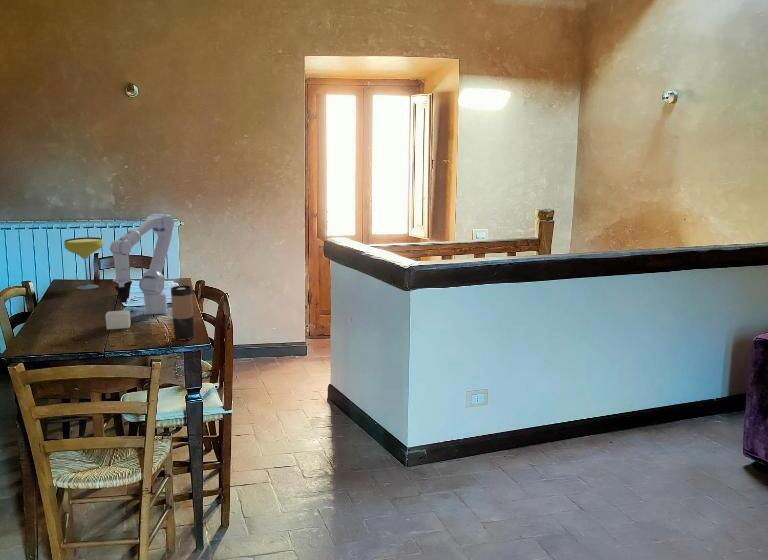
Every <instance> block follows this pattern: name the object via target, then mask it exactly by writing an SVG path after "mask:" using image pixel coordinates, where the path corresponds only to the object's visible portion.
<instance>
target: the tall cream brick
mask: <svg viewBox="0 0 768 560" xmlns="http://www.w3.org/2000/svg"><path fill="white" fill-rule="evenodd" d="M105 322H106V323H105V326H106V330H117V329H130V326H131V324H132V323H131V311H130V310H129V309H127V310H113V311H112V310H111V311H107V312H106V314H105Z"/></svg>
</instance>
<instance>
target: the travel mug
mask: <svg viewBox="0 0 768 560" xmlns="http://www.w3.org/2000/svg"><path fill="white" fill-rule="evenodd" d="M192 293H193V292H192V286H190V285H177V286H176V285H175V286H172V287H171V288H170V297H171V299H170V300H171V311H172V312H171V313H172V314H171V315H172V325H173V334H174V339H175V338H176V339H187V338H191V337H193V336H194V337H195V333H194V332H195V330H194V329H195V328H194V325H195V324H194V309H193V296H192V295H193V294H192ZM176 339H175V340H176Z"/></svg>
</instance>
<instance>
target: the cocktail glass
mask: <svg viewBox="0 0 768 560" xmlns="http://www.w3.org/2000/svg"><path fill="white" fill-rule="evenodd" d="M63 246H64V249H66V250H67V252H70V253H73V254H75V255H77V256H79V257H80V258H82V259H83V260H84V268H85V269H84V270H85V284H83V285H80V286H79V285H78V286H77V287H76V290H80V291H81V290H82V291H85V290H86V291H87V290H95V289H98V288H99V287H100V285H97V284H90V282H89V277H88V270H87V259H88V258H89V257H90V255H92V254H93V253H96V252H97V251H99V250H100V249H101V248H102V246H103V238H102V237H97V236H96V237H91V236H90V237H87V236H86V237H76V238H69V239H65V240H64V241H63Z"/></svg>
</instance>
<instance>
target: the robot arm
mask: <svg viewBox="0 0 768 560" xmlns="http://www.w3.org/2000/svg"><path fill="white" fill-rule="evenodd" d="M174 225H175V221H174V218H173V216H172V215H171V214H168V213H167V214H160V213H151V214H149V215H148V216H147V217H146V220H144V222H142V224H140V225H139V226H138V227H137V228H136V229H129V230H127V231H126V233H125V234H124V235H123V236H120V237H119V239H116V240H114V241H112V243H110V247H109V250H110V252H111V254H112V257H113V261H114V262H113V263H114V270H115V271H114V273H115V278H114V279H112V282H115V283H117V284H118V285H115V287H114V289H115V291H116V292H117V294H118V297H119V301H120V303H121V304H122V303H123V304H124V303H127V302H128V299H129V298H130V292H131V291H130V290H131V288H132V287H131V286H132V283H133V281H132V278H131V271H130V258H129V254H130V252H131V250H132V248H133V247H134V246H135V245H136V244H138V243H140V242H141V238H142V236H144V235H145V234H147V233H148V232H149V231H151V230H153V232H154V233H155V234H156V235H157V241H156V244H155V247H154V251H153V254H152V258H151V262H150V264H149V269H148V270H146V272H144V273H143V275H142V278H141V279H140V280H139V283H138V288H139V289H140V290H141V291H142V294H143V300H144V312H143V315H144V316H146V315H161V314H162V315H165V314H167V311H168V303H167V293H166V292H164V291H163V290H164V288H165V280H166V278H165V275H163V274H162V272H163V269H164V265H165V261H166V257H167V254H168V250H169V247H170V245H171V241H172V236H173V229H174Z"/></svg>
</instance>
